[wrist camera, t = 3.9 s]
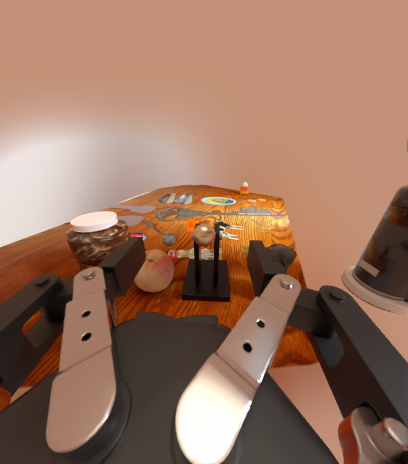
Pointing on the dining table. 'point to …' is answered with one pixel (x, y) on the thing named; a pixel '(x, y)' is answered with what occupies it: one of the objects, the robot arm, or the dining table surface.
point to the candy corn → (244, 188)
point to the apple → (155, 271)
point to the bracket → (207, 275)
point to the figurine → (284, 254)
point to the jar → (95, 237)
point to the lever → (204, 234)
